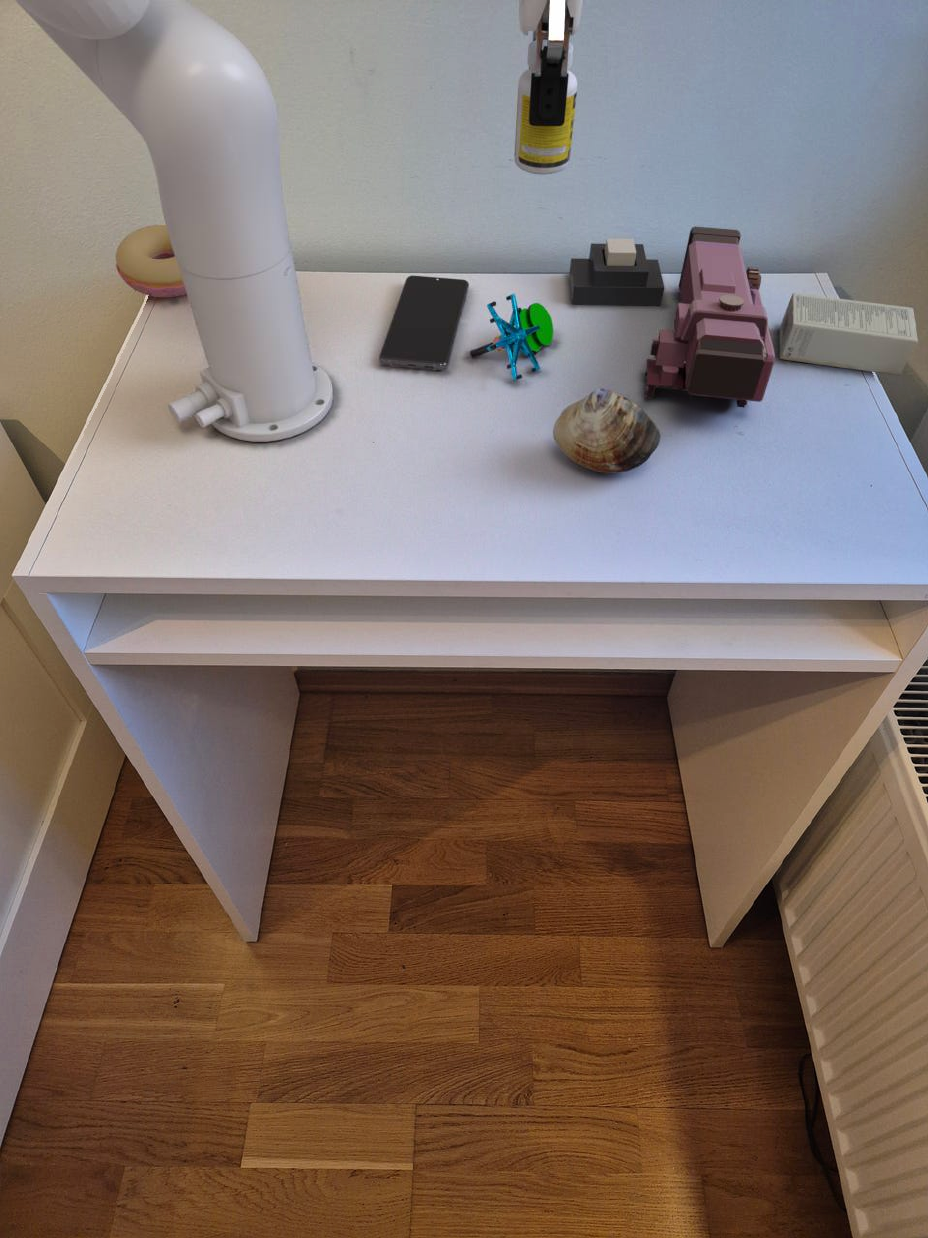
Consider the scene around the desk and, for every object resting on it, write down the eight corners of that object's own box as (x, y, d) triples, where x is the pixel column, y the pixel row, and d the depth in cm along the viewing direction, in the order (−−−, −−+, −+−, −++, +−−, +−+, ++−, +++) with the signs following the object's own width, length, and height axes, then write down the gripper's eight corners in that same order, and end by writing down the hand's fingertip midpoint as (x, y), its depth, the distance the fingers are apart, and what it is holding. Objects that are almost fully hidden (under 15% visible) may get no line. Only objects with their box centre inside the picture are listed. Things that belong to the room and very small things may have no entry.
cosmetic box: (777, 359, 83) (898, 379, 81) (792, 321, 79) (919, 341, 78) (779, 325, 87) (895, 344, 85) (793, 288, 83) (914, 306, 81)
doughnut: (94, 233, 89) (106, 268, 93) (135, 283, 84) (145, 317, 88) (185, 207, 93) (193, 241, 97) (228, 253, 89) (235, 287, 92)
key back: (631, 253, 89) (633, 238, 88) (633, 267, 87) (636, 252, 86) (604, 253, 89) (606, 238, 88) (606, 267, 87) (608, 252, 86)
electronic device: (739, 315, 92) (764, 224, 85) (763, 441, 73) (798, 337, 66) (644, 306, 93) (661, 215, 86) (643, 428, 74) (665, 324, 67)
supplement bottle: (577, 172, 76) (590, 53, 68) (524, 179, 75) (531, 59, 68) (558, 148, 79) (568, 31, 72) (506, 155, 79) (511, 37, 71)
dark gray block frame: (654, 277, 93) (661, 243, 90) (660, 305, 89) (668, 271, 86) (569, 276, 93) (572, 242, 90) (571, 304, 89) (575, 270, 86)
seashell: (541, 473, 73) (549, 401, 66) (559, 434, 76) (568, 363, 69) (643, 498, 71) (661, 427, 64) (657, 458, 74) (675, 386, 67)
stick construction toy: (521, 381, 77) (492, 301, 75) (466, 401, 81) (437, 326, 79) (572, 351, 86) (548, 279, 83) (519, 371, 90) (494, 302, 88)
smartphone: (377, 359, 81) (407, 273, 91) (378, 367, 82) (407, 282, 92) (447, 365, 81) (470, 278, 90) (447, 374, 82) (470, 287, 91)
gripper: (513, -182, 64) (504, 74, 79) (515, -135, 54) (505, 150, 69) (605, -182, 64) (580, 75, 79) (625, -134, 54) (591, 151, 68)
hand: (545, 108), depth 74 cm, fingers closed on supplement bottle, 5 cm apart
